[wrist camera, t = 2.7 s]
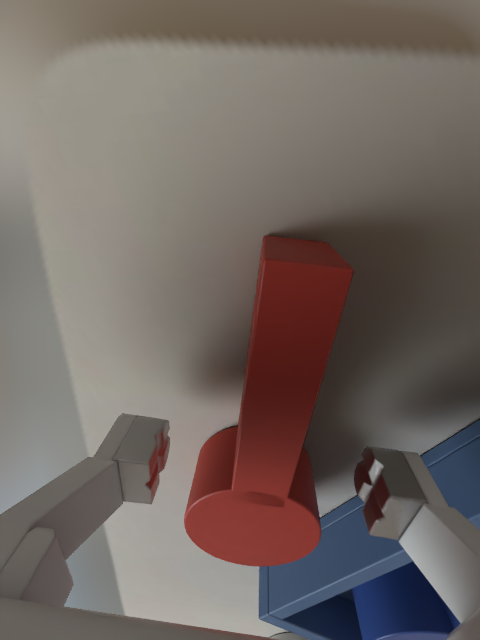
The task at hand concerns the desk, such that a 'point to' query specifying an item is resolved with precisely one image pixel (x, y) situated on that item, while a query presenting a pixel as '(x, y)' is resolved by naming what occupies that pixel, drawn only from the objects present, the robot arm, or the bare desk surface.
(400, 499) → the robot arm
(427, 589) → the blue spoon
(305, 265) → the red spoon
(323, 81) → the desk surface
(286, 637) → the cup
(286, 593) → the blue tray
